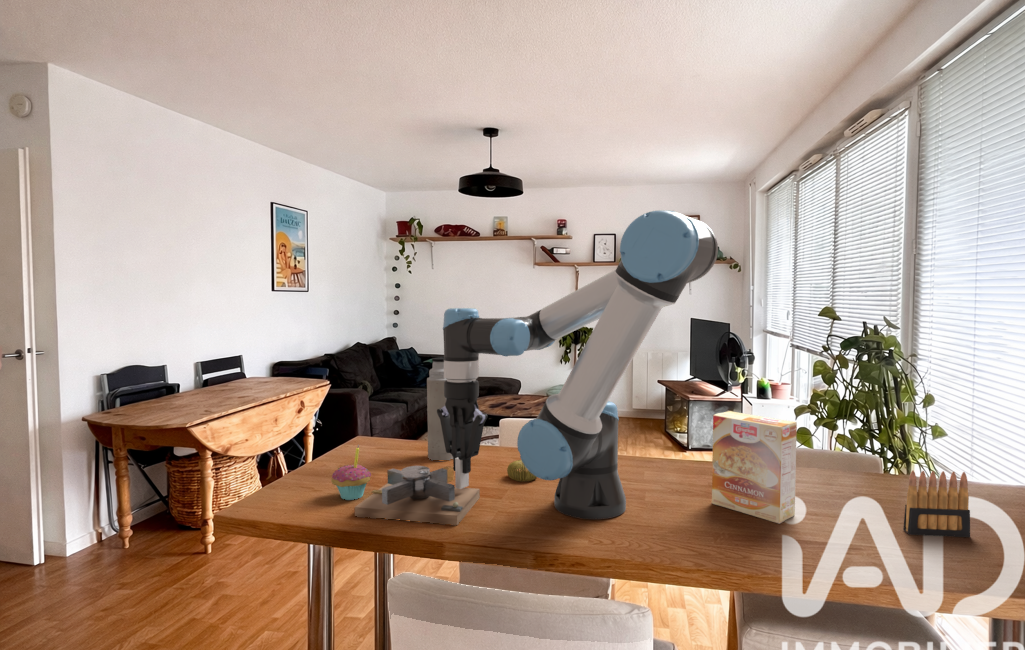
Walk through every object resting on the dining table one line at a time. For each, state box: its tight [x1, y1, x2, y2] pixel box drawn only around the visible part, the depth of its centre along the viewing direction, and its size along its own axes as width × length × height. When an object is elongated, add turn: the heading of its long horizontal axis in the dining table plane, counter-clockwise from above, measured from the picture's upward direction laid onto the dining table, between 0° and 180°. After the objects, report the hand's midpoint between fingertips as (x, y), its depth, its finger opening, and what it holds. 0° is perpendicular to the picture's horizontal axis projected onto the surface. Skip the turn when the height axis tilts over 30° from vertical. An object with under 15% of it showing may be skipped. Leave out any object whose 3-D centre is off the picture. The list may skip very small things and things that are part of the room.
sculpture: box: [506, 459, 538, 483], centre depth 143 cm, size 8×4×8 cm
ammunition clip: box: [902, 470, 971, 538], centre depth 108 cm, size 11×2×12 cm, turn 83°
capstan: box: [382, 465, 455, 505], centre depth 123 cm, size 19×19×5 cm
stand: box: [354, 482, 481, 526], centre depth 124 cm, size 22×16×4 cm
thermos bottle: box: [426, 356, 453, 461], centre depth 161 cm, size 8×8×28 cm
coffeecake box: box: [711, 410, 798, 525], centre depth 121 cm, size 15×7×20 cm, turn 40°
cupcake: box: [330, 444, 372, 501], centre depth 130 cm, size 9×8×12 cm
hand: (462, 486), depth 126 cm, fingers closed
